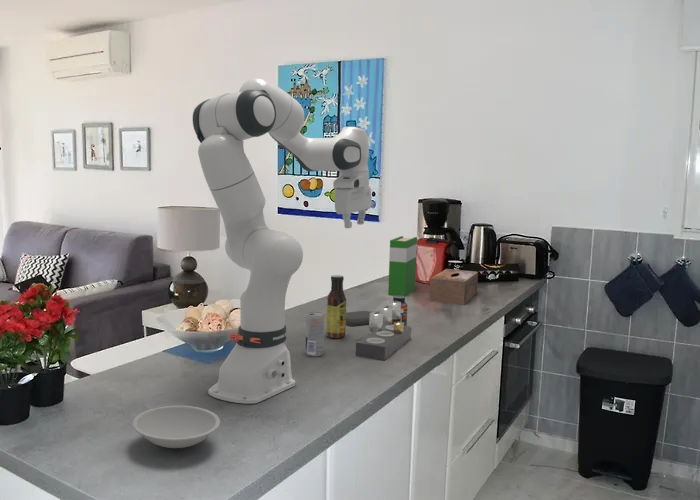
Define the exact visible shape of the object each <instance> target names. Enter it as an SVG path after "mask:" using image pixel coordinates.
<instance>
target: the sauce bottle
mask: <svg viewBox="0 0 700 500" xmlns="http://www.w3.org/2000/svg"><path fill="white" fill-rule="evenodd" d="M330 279H331V281H330V282H331V286H330V291H329V293H328V294H327V302H326V303H327V304H326V329H325V330H326V336H327V337H328V338H330V339H340V338H344V337H346V332H347V331H346V327H347V325H346V313H347V297H346V295H345V292H344V276H343V275H340V274H339V275H338V274H336V275H331V277H330Z"/></svg>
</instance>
